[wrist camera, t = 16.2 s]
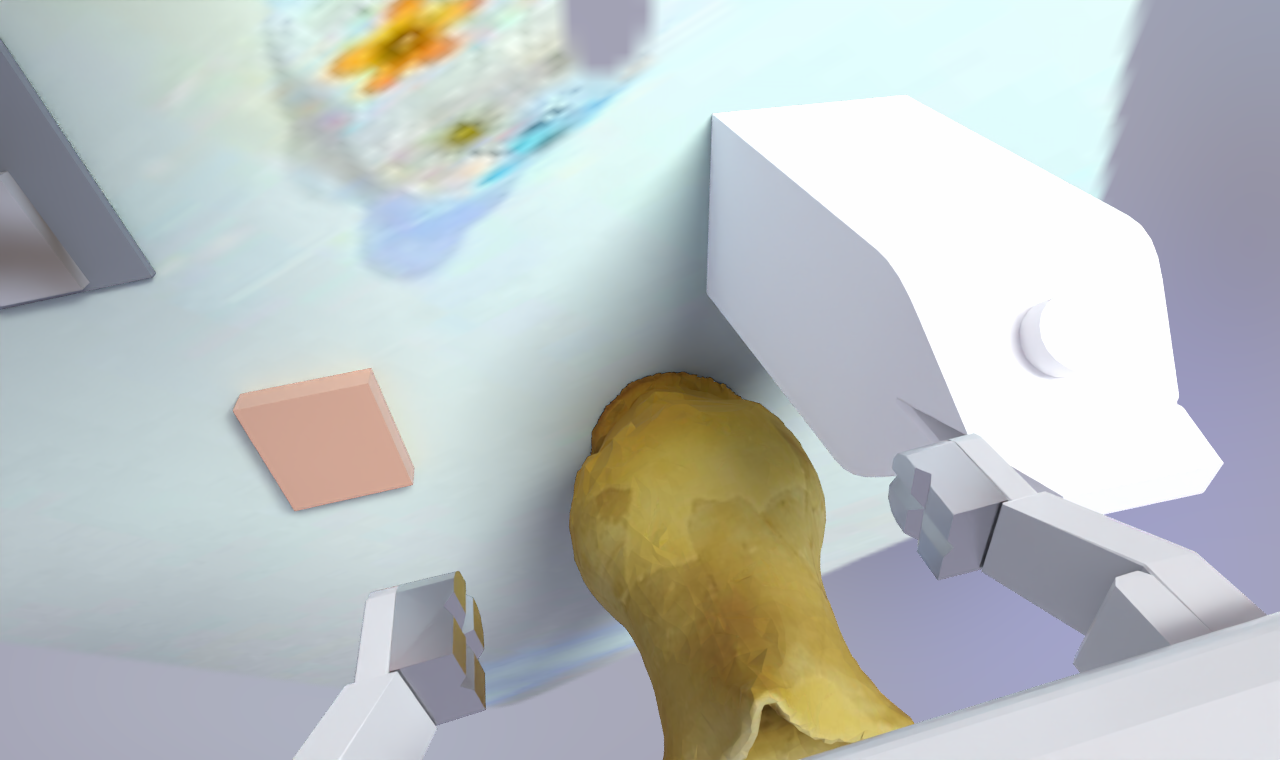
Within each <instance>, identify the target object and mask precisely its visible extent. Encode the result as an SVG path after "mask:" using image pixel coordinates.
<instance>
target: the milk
mask: <svg viewBox="0 0 1280 760" xmlns="http://www.w3.org/2000/svg"><path fill="white" fill-rule="evenodd" d="M707 294H708V296H709V297H710V298H711V300H712V301H713V302H714V304H715V305H716V306H717V307H718V309H719V310H720V311H721V313H722V314H723V315H724V317H725V318H726V319H727V320H728V322H729V323H730V324H731V326H732V327H733V328H734V329H735V331H736V332H737V333H738V335H739V336H740V337H741V339H742V340H743V341H744V342H745V344H746V345H747V346H748V348H749V349H750V350H751V351H752V353H753V354H754V355H755V357H756V358H757V359H758V361H759V362H760V363H761V364H762V366H763V367H764V368H765V370H766V371H767V372H768V374H769V375H770V376H771V377H772V379H773V380H774V381H775V383H776V384H777V385H778V386H779V388H780V389H781V390H782V392H783V393H784V394H785V396H786V397H787V398H788V399H789V401H790V402H791V403H792V405H793V406H794V407H795V408H796V410H797V411H798V412H799V414H800V415H801V416H802V418H803V419H804V420H805V421H806V423H807V424H808V425H809V427H810V428H811V429H812V431H813V432H814V433H815V434H816V436H817V437H818V438H819V440H820V441H821V442H822V443H823V445H824V446H825V447H826V449H827V450H828V451H829V453H830V454H831V455H832V456H833V458H834V459H835V460H836V461H837V462H838V463H839V464H840V465H841V466H842V467H843V468H844V469H845V470H847V471H849V472H850V473H852V474H855V475H859V476H863V477H886V476H897V474H896V473H895V472H894V470H893V469H892V464H893V458H894V457H895V456H896V455H897V453H900V452H904V451H907V450H911V449H915V448H918V447H922V446H925V445H929V444H932V443H936V442H940V441H943V440H946V441H947V440H949V439H953V438H956V437H960V436H964V435H968V434H971V433H975V434H977V435H980V436H981V437H982V438H983V439H984V440H985V441H986V442H987V443H988V444H989V445H990V446H991V447H992V448H993V449H994V450H995V451H996V452H997V453H998V454H999V455H1000V456H1001V457H1002V458H1003V459H1004V460H1005V461H1006V462H1007V463H1008V464H1009V465H1010V466H1011V467H1012V468H1013V469H1014V470H1015V471H1016V472H1017V473H1018V474H1019V475H1020V476H1021V477H1022V478H1023V479H1024V480H1025V481H1026V482H1027V483H1028V484H1029V485H1030V486H1031V487H1032V488H1033V489H1034V490H1035V491H1036V492H1037V493H1040V492H1044V491H1046V492H1048V493H1051V494H1053V495H1055V496H1058V497H1060V498H1063V499H1065V500H1068V501H1070V502H1073V503H1075V504H1078V505H1080V506H1083V507H1085V508H1088V509H1090V510H1093V511H1095V512H1098V513H1100V514H1107V513H1112V512H1117V511H1121V510H1126V509H1131V508H1135V507H1140V506H1145V505H1149V504H1154V503H1158V502H1163V501H1168V500H1173V499H1177V498H1182V497H1186V496H1191V495H1195V494H1200V493H1203V492H1204V491H1205V489H1206V488H1207V487H1208V485H1209V484H1210V482H1211V481H1212V479H1213V478H1214V476H1215V475H1216V474H1217V472H1218V471H1219V469H1220V468H1221V466H1222V465H1223V462H1222V461H1221V459H1220V458H1219V456H1218V455H1217V453H1216V452H1215V451H1214V449H1213V448H1212V447H1211V445H1210V444H1209V443H1208V441H1207V440H1206V438H1205V437H1204V436H1203V434H1202V433H1201V432H1200V430H1199V429H1198V427H1197V426H1196V425H1195V423H1194V422H1193V420H1192V419H1191V418H1190V416H1189V415H1188V414H1187V412H1186V411H1185V409H1184V408H1183V407H1182V406H1180V405H1178V404H1176V403H1177V400H1178V397H1179V394H1178V386H1177V379H1176V372H1175V365H1174V359H1173V351H1172V344H1171V338H1170V330H1169V323H1168V316H1167V309H1166V302H1165V295H1164V288H1163V282H1162V275H1161V270H1160V265H1159V260H1158V257H1157V254H1156V251H1155V248H1154V246H1153V243H1152V241H1151V239H1150V237H1149V236H1148V234H1147V233H1146V232H1145V230H1144V229H1143V227H1142V226H1141V225H1140V224H1139V223H1137V222H1136V221H1135V220H1133V219H1132V218H1131V217H1129V216H1128V215H1126V214H1124V213H1122V212H1121V211H1119V210H1117V209H1115V208H1113V207H1112V206H1110V205H1108V204H1106V203H1104V202H1102V201H1100V200H1099V199H1097V198H1095V197H1093V196H1091V195H1089V194H1088V193H1086V192H1084V191H1082V190H1080V189H1078V188H1076V187H1075V186H1073V185H1071V184H1069V183H1067V182H1065V181H1064V180H1062V179H1060V178H1058V177H1056V176H1054V175H1053V174H1051V173H1049V172H1047V171H1045V170H1043V169H1041V168H1040V167H1038V166H1036V165H1034V164H1032V163H1030V162H1029V161H1027V160H1025V159H1023V158H1021V157H1019V156H1018V155H1016V154H1014V153H1012V152H1010V151H1008V150H1006V149H1005V148H1003V147H1001V146H999V145H997V144H995V143H994V142H992V141H990V140H988V139H986V138H984V137H983V136H981V135H979V134H977V133H975V132H973V131H971V130H970V129H968V128H966V127H964V126H962V125H960V124H959V123H957V122H955V121H953V120H951V119H949V118H947V117H946V116H944V115H942V114H940V113H938V112H936V111H935V110H933V109H931V108H929V107H927V106H925V105H924V104H922V103H920V102H918V101H916V100H914V99H912V98H911V97H909V96H907V95H901V96H891V97H880V98H870V99H859V100H849V101H839V102H828V103H818V104H807V105H797V106H787V107H776V108H766V109H755V110H745V111H735V112H724V113H714V114H712V133H711V165H710V197H709V229H708V261H707Z"/></svg>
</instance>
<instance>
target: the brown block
mask: <svg viewBox="0 0 1280 760" xmlns="http://www.w3.org/2000/svg"><path fill="white" fill-rule="evenodd" d="M89 283H90V282H89V281H88V280H87V278H86V277H85V276H84V274H83V273H82V272H81V270H80V269H79V267H78V266H77V265H76V263H75V262H74V261H73V259H72V258H71V257H70V255H69V254H68V252H67V251H66V250H65V248H64V247H63V246H62V244H61V243H60V242H59V240H58V239H57V237H56V236H55V235H54V233H53V232H52V231H51V229H50V228H49V227H48V225H47V224H46V222H45V221H44V220H43V218H42V217H41V216H40V214H39V213H38V212H37V210H36V209H35V207H34V206H33V205H32V203H31V202H30V201H29V199H28V198H27V197H26V195H25V194H24V193H23V191H22V190H21V188H20V187H19V186H18V184H17V183H16V182H15V180H14V179H13V178H12V176H11V175H10V173H9V172H8V171H5V172H0V307H1V306H6V305H11V304H16V303H21V302H26V301H30V300H35V299H40V298H45V297H50V296H54V295H59V294H64V293H69V292H74V291H79V290H83V289H84V288H85V287H86V286H87V285H88V284H89Z"/></svg>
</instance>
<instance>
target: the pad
mask: <svg viewBox="0 0 1280 760" xmlns="http://www.w3.org/2000/svg"><path fill="white" fill-rule="evenodd" d="M5 171H8V172H9V173H10V175H11V176H12V178H13V179H14V180H15V182H16V183H17V184H18V186H19V187H20V188H21V190H22V191H23V193H24V194H25V195H26V197H27V198H28V199H29V201H30V202H31V203H32V205H33V206H34V207H35V209H36V210H37V212H38V213H39V214H40V216H41V217H42V218H43V220H44V221H45V222H46V224H47V225H48V227H49V228H50V229H51V231H52V232H53V233H54V235H55V236H56V237H57V239H58V240H59V242H60V243H61V244H62V246H63V247H64V248H65V250H66V251H67V252H68V254H69V255H70V257H71V258H72V259H73V261H74V262H75V263H76V265H77V266H78V267H79V269H80V270H81V272H82V273H83V274H84V276H85V277H86V278H87V280H88V281H89V282H90V283H89V284H88V285H87V286H86V287H85V288H84V289H83V290H79V291H74V292H69V293H64V294H59V295H54V296H50V297H45V298H40V299H35V300H30V301H26V302H21V303H16V304H11V305H6V306H1V307H0V310H1V309H5V308H10V307H15V306H20V305H24V304H29V303H34V302H38V301H43V300H48V299H53V298H57V297H62V296H67V295H71V294H76V293H81V292H86V291H90V290H95V289H100V288H104V287H109V286H114V285H119V284H123V283H128V282H133V281H137V280H142V279H147V278H152V277H153V276H154V275H155V274H156V273H155V271H154V270H153V268H152V266H151V265H150V263H149V262H148V260H147V259H146V257H145V256H144V254H143V253H142V251H141V250H140V248H139V247H138V245H137V244H136V242H135V241H134V239H133V238H132V236H131V235H130V233H129V232H128V230H127V229H126V227H125V226H124V224H123V223H122V221H121V220H120V218H119V217H118V215H117V214H116V212H115V211H114V209H113V208H112V206H111V205H110V203H109V202H108V200H107V199H106V197H105V196H104V194H103V193H102V191H101V190H100V188H99V186H98V185H97V183H96V182H95V180H94V179H93V177H92V176H91V174H90V173H89V171H88V170H87V168H86V167H85V165H84V164H83V162H82V161H81V159H80V158H79V156H78V155H77V153H76V152H75V150H74V149H73V147H72V146H71V144H70V143H69V141H68V140H67V138H66V137H65V135H64V134H63V132H62V131H61V129H60V128H59V126H58V125H57V123H56V122H55V120H54V119H53V117H52V116H51V114H50V113H49V111H48V110H47V108H46V107H45V105H44V103H43V102H42V100H41V99H40V97H39V96H38V94H37V93H36V91H35V90H34V88H33V87H32V85H31V84H30V82H29V81H28V79H27V78H26V76H25V75H24V73H23V72H22V70H21V69H20V67H19V66H18V64H17V63H16V61H15V60H14V58H13V57H12V55H11V54H10V52H9V51H8V49H7V48H6V46H5V45H4V43H3V42H2V40H1V39H0V172H5Z"/></svg>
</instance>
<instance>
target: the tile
mask: <svg viewBox="0 0 1280 760" xmlns="http://www.w3.org/2000/svg"><path fill="white" fill-rule="evenodd" d="M233 412H234V414H235V415H236V417H237V419H238V420H239V422H240V424H241V425H242V427H243V428H244V430H245V432H246V433H247V435H248V437H249V438H250V440H251V441H252V443H253V445H254V446H255V448H256V449H257V451H258V453H259V454H260V456H261V458H262V459H263V461H264V462H265V464H266V466H267V467H268V469H269V470H270V472H271V474H272V475H273V477H274V479H275V480H276V482H277V483H278V485H279V487H280V488H281V490H282V492H283V493H284V495H285V496H286V498H287V500H288V501H289V503H290V504H291V506H292V508H293V509H294V511H298V510H302V509H307V508H311V507H316V506H320V505H325V504H329V503H334V502H338V501H343V500H347V499H352V498H356V497H361V496H365V495H370V494H374V493H379V492H383V491H388V490H392V489H397V488H401V487H406V486H410V485H413V478H414V466H413V464H412V462H411V459H410V457H409V455H408V452H407V450H406V448H405V445H404V443H403V441H402V438H401V436H400V434H399V431H398V429H397V427H396V424H395V422H394V420H393V417H392V415H391V413H390V410H389V408H388V406H387V403H386V401H385V399H384V396H383V394H382V392H381V389H380V387H379V385H378V382H377V380H376V378H375V375H374V373H373V371H372V368H368V369H363V370H358V371H353V372H348V373H343V374H338V375H333V376H328V377H323V378H318V379H313V380H308V381H303V382H298V383H293V384H288V385H283V386H278V387H273V388H268V389H263V390H258V391H253V392H248V393H243V394H240V396H239V398H238V400H237V402H236V404H235V407H234V409H233Z"/></svg>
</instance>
